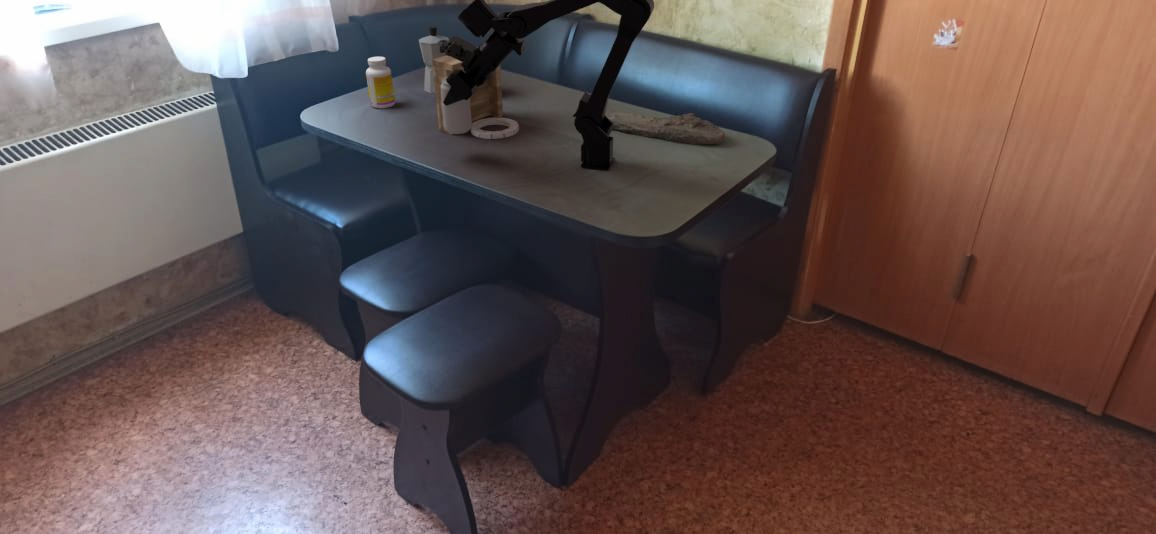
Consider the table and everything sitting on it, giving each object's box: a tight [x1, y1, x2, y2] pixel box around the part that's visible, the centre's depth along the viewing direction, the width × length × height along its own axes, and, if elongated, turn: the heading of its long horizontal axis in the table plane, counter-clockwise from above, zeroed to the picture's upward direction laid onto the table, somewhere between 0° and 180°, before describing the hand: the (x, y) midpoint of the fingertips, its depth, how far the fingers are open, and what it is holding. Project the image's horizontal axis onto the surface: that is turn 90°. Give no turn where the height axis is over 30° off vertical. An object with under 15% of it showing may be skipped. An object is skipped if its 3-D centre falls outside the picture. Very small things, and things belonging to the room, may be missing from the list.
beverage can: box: [441, 77, 473, 135], centre depth 178 cm, size 6×6×12 cm
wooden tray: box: [432, 46, 504, 135], centre depth 197 cm, size 7×18×18 cm, turn 140°
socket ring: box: [469, 116, 520, 140], centre depth 197 cm, size 12×12×1 cm
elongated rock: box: [605, 109, 726, 145], centre depth 195 cm, size 35×5×10 cm
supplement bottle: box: [365, 56, 396, 109], centre depth 212 cm, size 7×7×13 cm
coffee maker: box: [418, 25, 450, 95], centre depth 221 cm, size 15×9×18 cm, turn 43°
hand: (449, 99), depth 178 cm, fingers closed on beverage can, 6 cm apart
